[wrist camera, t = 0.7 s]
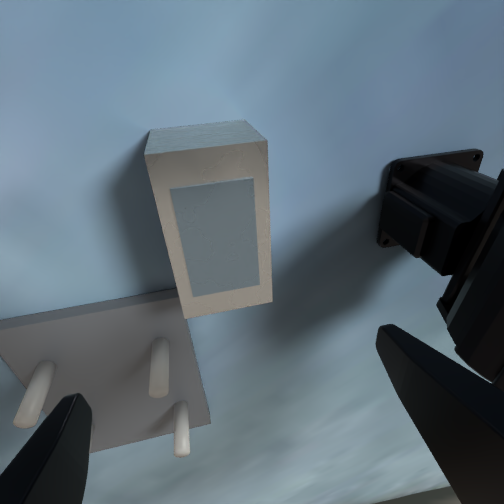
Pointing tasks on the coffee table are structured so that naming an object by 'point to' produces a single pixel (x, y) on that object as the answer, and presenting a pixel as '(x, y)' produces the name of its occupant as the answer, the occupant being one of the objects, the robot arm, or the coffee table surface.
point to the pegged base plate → (111, 368)
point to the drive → (214, 213)
